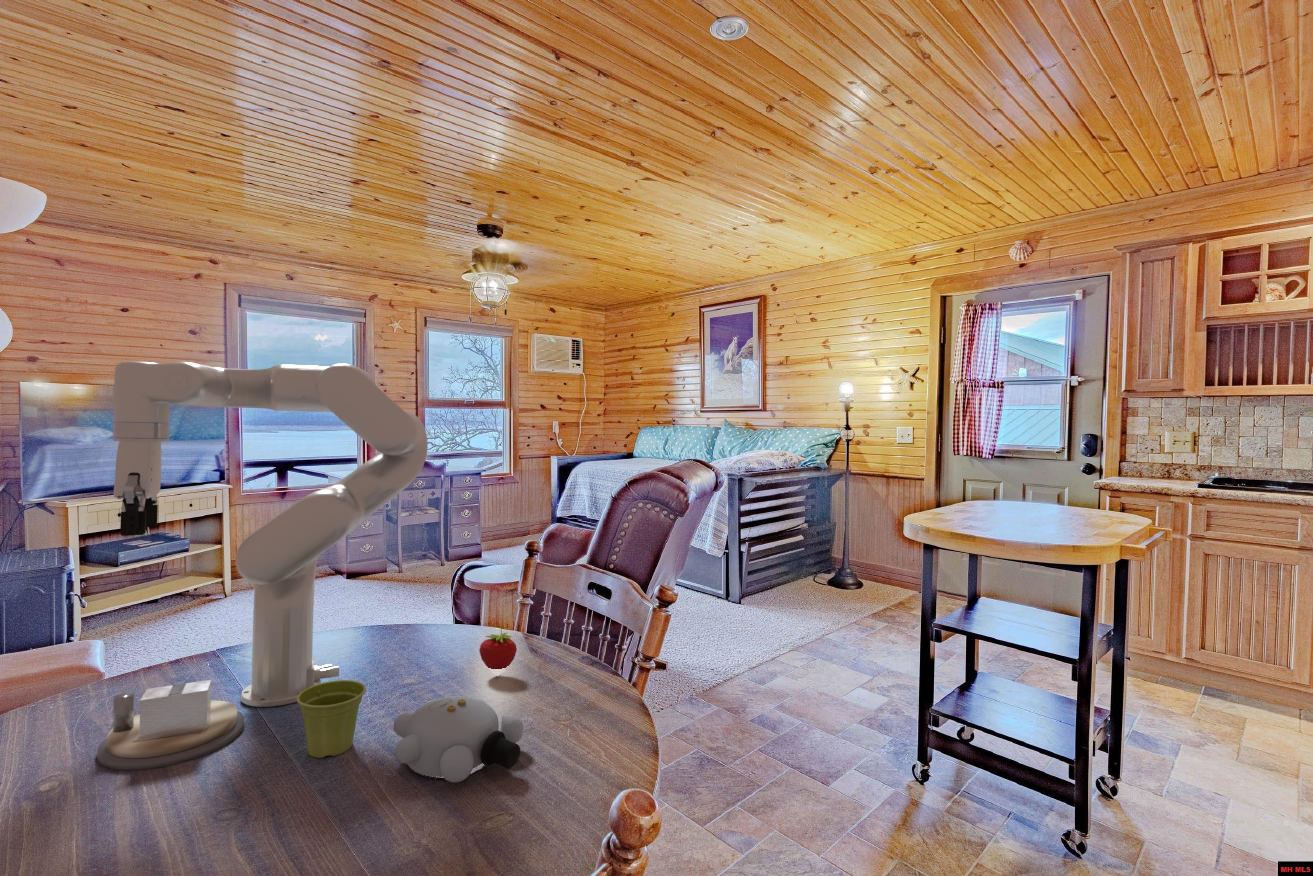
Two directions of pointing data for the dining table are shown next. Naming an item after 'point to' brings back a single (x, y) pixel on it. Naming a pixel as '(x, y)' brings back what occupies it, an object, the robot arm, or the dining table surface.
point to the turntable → (128, 729)
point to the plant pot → (330, 716)
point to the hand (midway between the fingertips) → (139, 530)
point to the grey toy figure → (456, 738)
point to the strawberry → (498, 651)
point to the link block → (175, 710)
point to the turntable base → (169, 759)
